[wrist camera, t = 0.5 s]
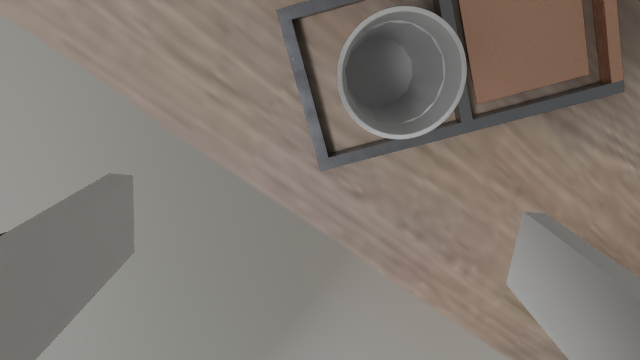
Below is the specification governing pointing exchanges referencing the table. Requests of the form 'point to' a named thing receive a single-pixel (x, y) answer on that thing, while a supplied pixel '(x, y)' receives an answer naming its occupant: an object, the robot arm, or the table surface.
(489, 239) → the table surface
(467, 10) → the two-slot metal tray
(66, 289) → the robot arm
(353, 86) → the cup
